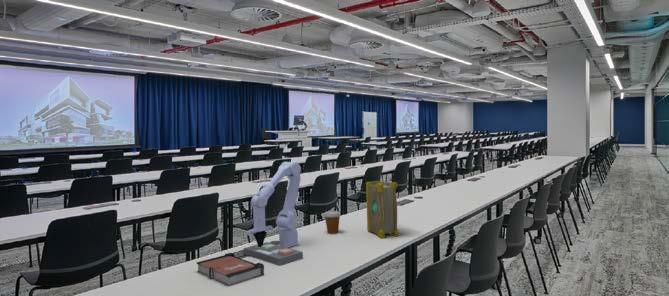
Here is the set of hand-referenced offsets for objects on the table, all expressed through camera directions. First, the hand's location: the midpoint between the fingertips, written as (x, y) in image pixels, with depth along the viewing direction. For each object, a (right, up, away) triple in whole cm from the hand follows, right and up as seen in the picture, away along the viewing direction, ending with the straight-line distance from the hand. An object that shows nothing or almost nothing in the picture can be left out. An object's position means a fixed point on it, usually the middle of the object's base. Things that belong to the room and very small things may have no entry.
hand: (260, 246), depth 207 cm
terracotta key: (+14, -1, -13) cm, 20 cm away
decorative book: (+64, 0, +30) cm, 71 cm away
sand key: (0, -2, 0) cm, 2 cm away
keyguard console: (+7, -3, -7) cm, 10 cm away
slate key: (+9, -2, -9) cm, 13 cm away
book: (-8, -5, -30) cm, 31 cm away
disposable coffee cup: (+36, -1, +36) cm, 51 cm away
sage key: (+5, -1, -4) cm, 7 cm away
